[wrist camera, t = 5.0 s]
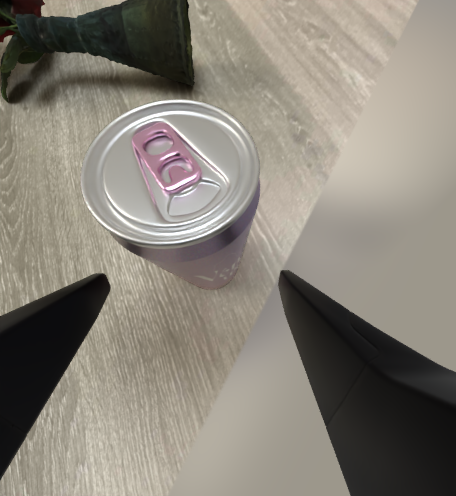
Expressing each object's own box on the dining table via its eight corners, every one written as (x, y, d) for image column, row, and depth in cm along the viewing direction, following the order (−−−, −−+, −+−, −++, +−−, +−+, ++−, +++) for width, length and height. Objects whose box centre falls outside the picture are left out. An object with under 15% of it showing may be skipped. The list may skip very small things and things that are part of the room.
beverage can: (219, 228, 21) (204, 72, 7) (248, 270, 20) (306, 185, 5) (175, 255, 20) (46, 138, 6) (202, 300, 19) (118, 298, 4)
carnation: (199, 120, 36) (14, 116, 34) (192, -16, 29) (-46, -35, 26) (190, 88, 22) (-133, 76, 19) (171, -200, 14) (-357, -282, 12)
